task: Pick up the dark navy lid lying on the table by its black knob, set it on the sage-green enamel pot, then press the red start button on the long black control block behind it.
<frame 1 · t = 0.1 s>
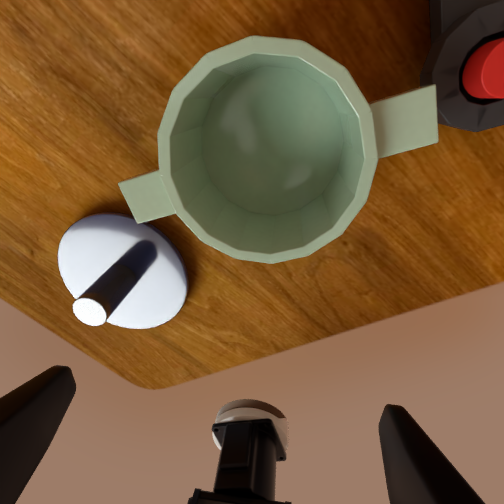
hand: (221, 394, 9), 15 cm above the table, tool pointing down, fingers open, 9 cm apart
pot: (270, 147, 20), on the table
lid: (125, 273, 25), point 1 cm above the table
button: (500, 68, 14), point 4 cm above the table, slide at 0.1 cm
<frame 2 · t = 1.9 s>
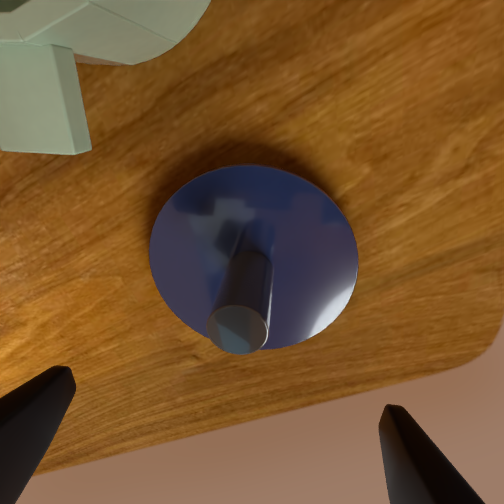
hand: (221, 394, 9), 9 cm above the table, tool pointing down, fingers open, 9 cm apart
lid: (251, 266, 16), point 1 cm above the table
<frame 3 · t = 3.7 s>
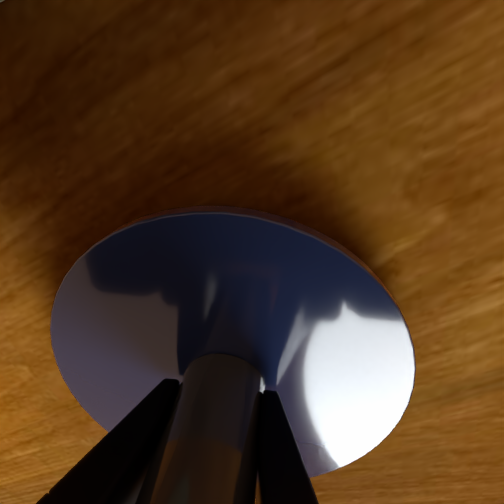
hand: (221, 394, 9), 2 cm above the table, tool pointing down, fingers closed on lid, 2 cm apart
lid: (227, 369, 10), point 1 cm above the table, touching gripper
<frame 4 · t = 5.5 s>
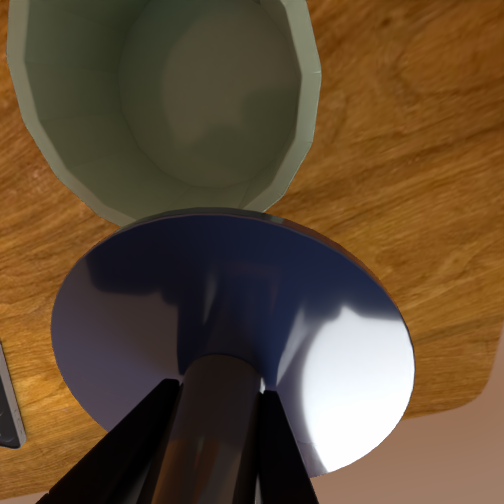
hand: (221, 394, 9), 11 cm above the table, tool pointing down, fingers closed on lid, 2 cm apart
pot: (207, 98, 16), on the table
lid: (227, 369, 10), point 10 cm above the table, touching gripper
when the fingers open (7 cm above the table, at t = 7.5 s): lid stays where it is, resting on pot.
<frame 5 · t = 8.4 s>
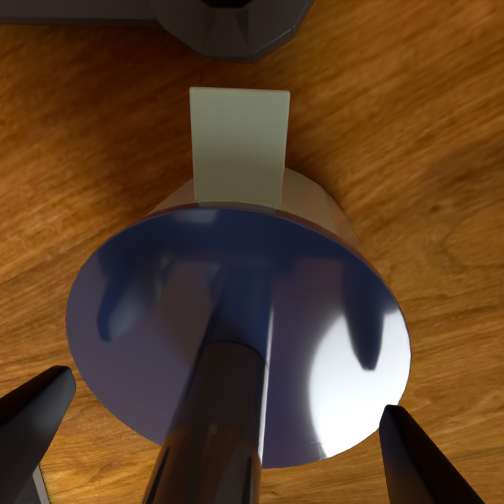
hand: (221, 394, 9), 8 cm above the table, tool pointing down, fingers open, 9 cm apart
smartphone: (9, 475, 29), on the table
pot: (252, 262, 16), on the table
lid: (232, 357, 10), point 6 cm above the table, touching pot
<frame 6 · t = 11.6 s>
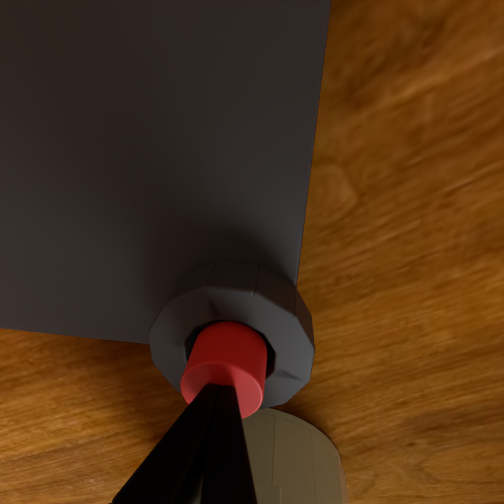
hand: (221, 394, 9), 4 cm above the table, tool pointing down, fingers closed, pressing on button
pot: (251, 463, 18), on the table
control block: (118, 91, 9), on the table
button: (226, 369, 9), point 3 cm above the table, slide at 0.1 cm, touching gripper
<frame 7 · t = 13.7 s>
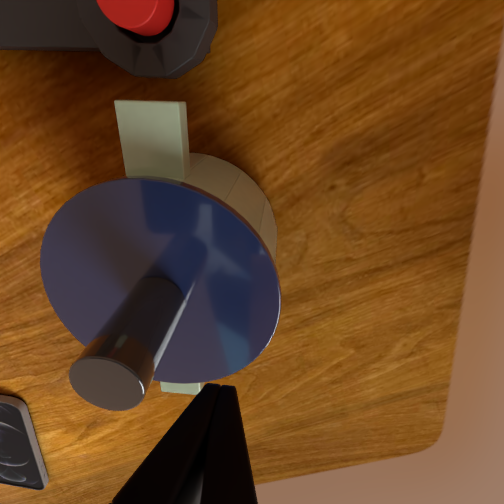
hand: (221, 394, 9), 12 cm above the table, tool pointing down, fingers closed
smartphone: (7, 437, 33), on the table
pot: (197, 234, 20), on the table
lid: (163, 292, 14), point 6 cm above the table, touching pot
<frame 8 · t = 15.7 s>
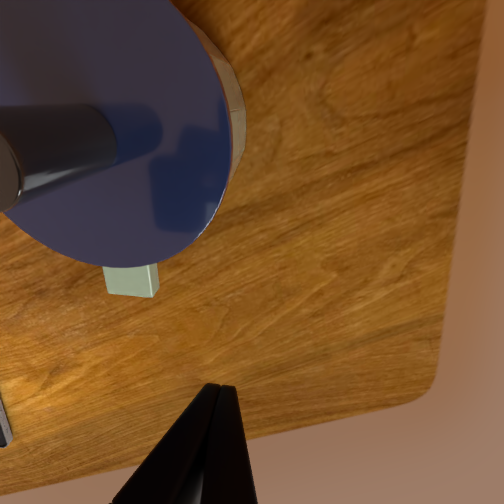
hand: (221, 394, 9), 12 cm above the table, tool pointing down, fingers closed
pot: (157, 123, 17), on the table
lid: (93, 138, 11), point 6 cm above the table, touching pot
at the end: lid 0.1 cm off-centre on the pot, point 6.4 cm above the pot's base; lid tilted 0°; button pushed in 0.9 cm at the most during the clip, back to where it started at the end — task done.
